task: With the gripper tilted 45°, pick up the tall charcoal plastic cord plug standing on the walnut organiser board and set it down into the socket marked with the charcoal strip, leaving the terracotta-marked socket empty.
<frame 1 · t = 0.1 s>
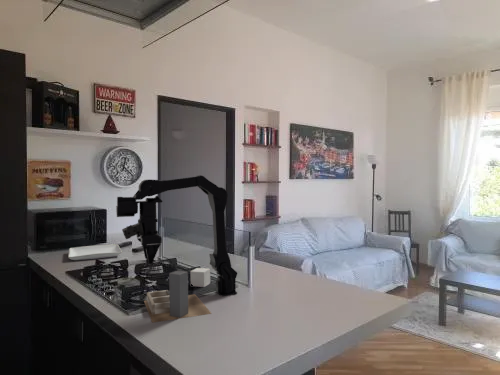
hand: (148, 261, 127), 15 cm above the worktop, tool pointing down, fingers open, 9 cm apart
cord organiser: (176, 309, 120), on the worktop
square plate: (95, 256, 211), on the worktop
charcoal plug: (179, 314, 113), point 1 cm above the worktop, touching cord organiser
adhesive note: (200, 285, 150), on the worktop
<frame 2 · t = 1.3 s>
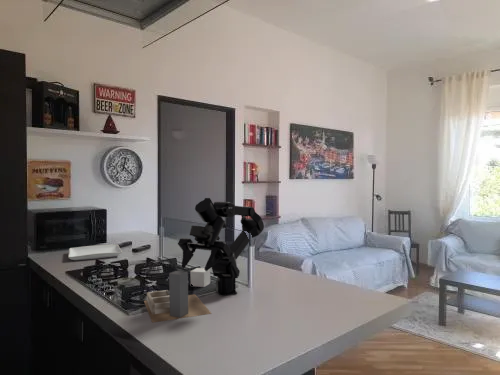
hand: (193, 268, 120), 13 cm above the worktop, tool tilted 45°, fingers open, 9 cm apart
nothing on the worktop moved.
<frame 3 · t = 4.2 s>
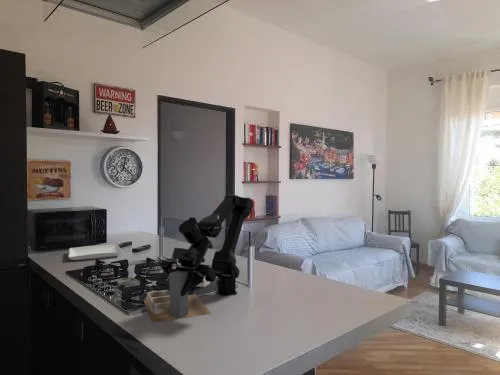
hand: (175, 294, 112), 8 cm above the worktop, tool tilted 45°, fingers closed on charcoal plug, 4 cm apart
charcoal plug: (179, 314, 113), point 1 cm above the worktop, touching cord organiser, gripper
everything else where it was.
when the fingers open (9 cm above the worktop, at t = 8.0 s): charcoal plug drops 1 cm, resting on cord organiser.
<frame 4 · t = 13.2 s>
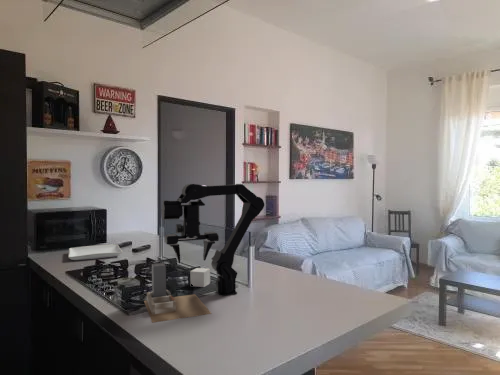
hand: (192, 261, 133), 13 cm above the worktop, tool pointing down, fingers open, 9 cm apart
charcoal plug: (159, 303, 124), point 1 cm above the worktop, touching cord organiser
everything else where it was.
at the end: charcoal plug 0.0 cm from the target spot on the cord organiser, point 1.0 cm above the cord organiser's base; charcoal plug tilted 0°; the gripper is holding nothing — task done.
